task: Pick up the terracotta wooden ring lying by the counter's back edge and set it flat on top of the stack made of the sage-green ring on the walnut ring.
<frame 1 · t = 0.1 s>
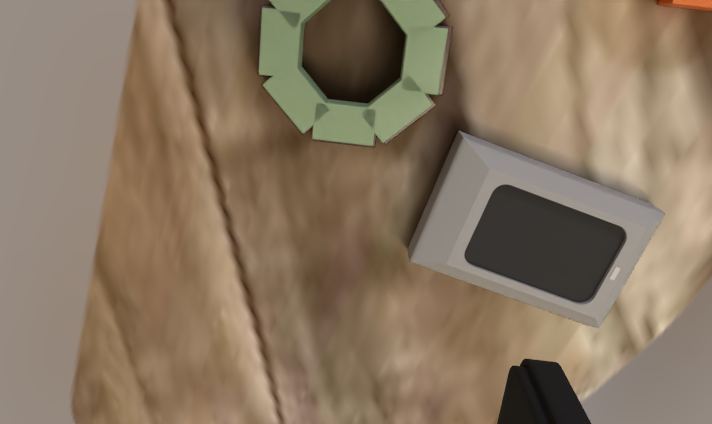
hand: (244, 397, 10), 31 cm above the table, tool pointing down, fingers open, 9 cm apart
walnut ring: (354, 49, 38), on the table, touching green ring
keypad: (525, 225, 42), on the table
green ring: (353, 50, 36), point 2 cm above the table, touching walnut ring
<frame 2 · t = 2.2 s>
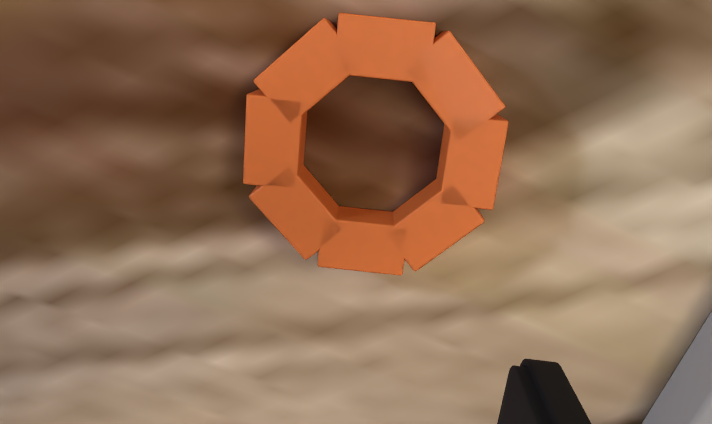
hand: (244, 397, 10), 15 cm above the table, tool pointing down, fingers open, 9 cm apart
terracotta ring: (372, 144, 24), on the table
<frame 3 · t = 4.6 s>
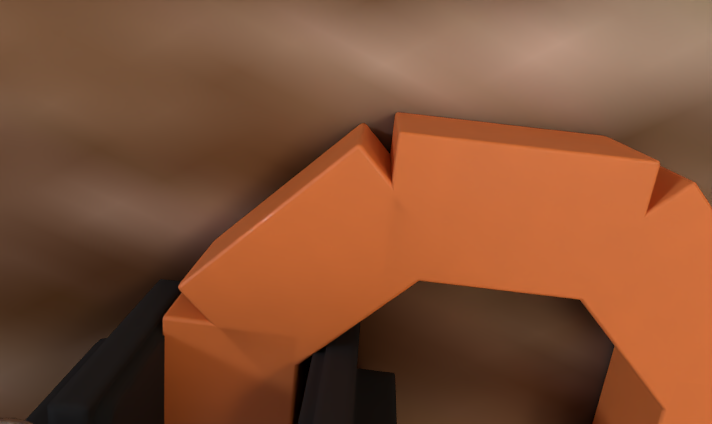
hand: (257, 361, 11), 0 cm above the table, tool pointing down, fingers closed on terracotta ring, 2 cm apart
terracotta ring: (453, 378, 11), on the table, touching gripper
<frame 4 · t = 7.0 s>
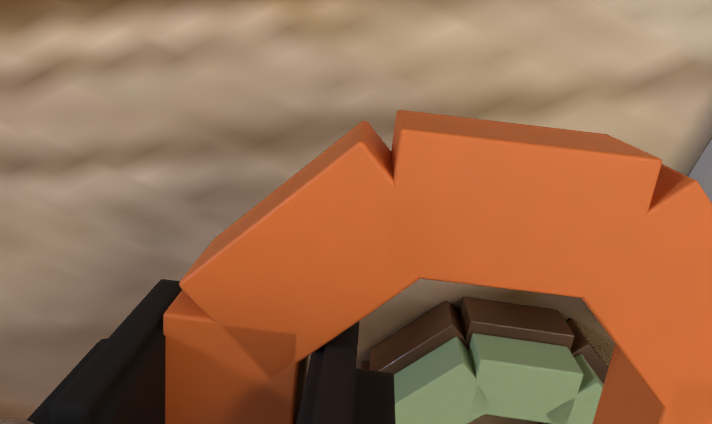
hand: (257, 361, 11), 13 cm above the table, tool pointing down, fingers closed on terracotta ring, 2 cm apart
walnut ring: (482, 417, 27), on the table, touching green ring
terracotta ring: (453, 377, 11), point 13 cm above the table, touching gripper
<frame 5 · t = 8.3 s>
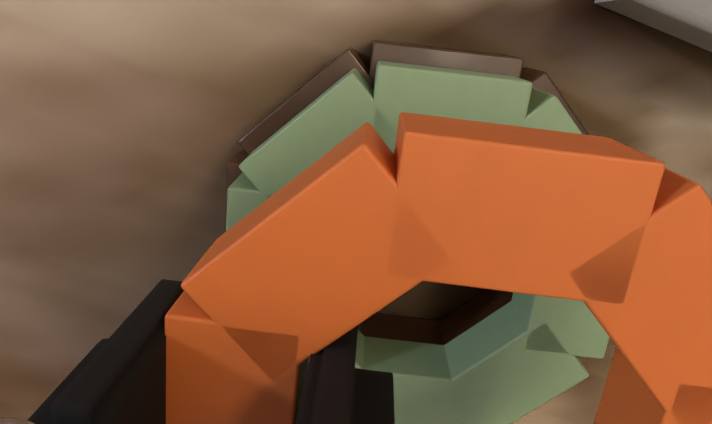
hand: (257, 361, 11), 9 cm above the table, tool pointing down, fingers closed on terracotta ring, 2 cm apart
walnut ring: (413, 227, 20), on the table, touching green ring
terracotta ring: (454, 379, 11), point 9 cm above the table, touching gripper
green ring: (417, 250, 18), point 2 cm above the table, touching walnut ring
when the fingers open (4 cm above the table, at t = 9.6 s): terracotta ring stays where it is, resting on green ring.
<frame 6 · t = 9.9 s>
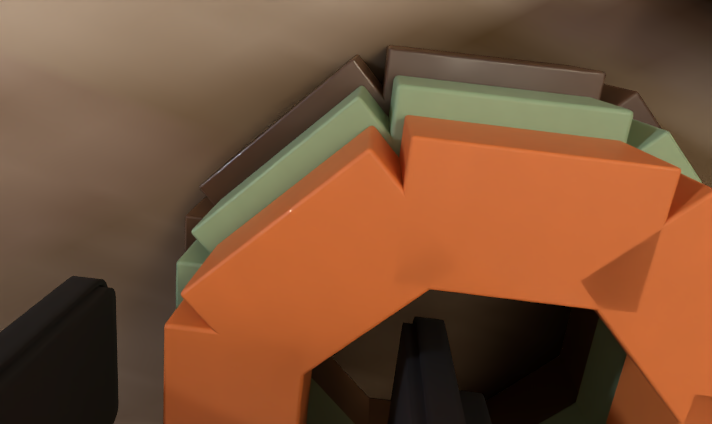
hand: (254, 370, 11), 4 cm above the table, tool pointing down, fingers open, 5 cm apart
walnut ring: (438, 292, 15), on the table, touching green ring
terracotta ring: (460, 387, 11), point 4 cm above the table, touching green ring
green ring: (448, 335, 13), point 2 cm above the table, touching terracotta ring, walnut ring
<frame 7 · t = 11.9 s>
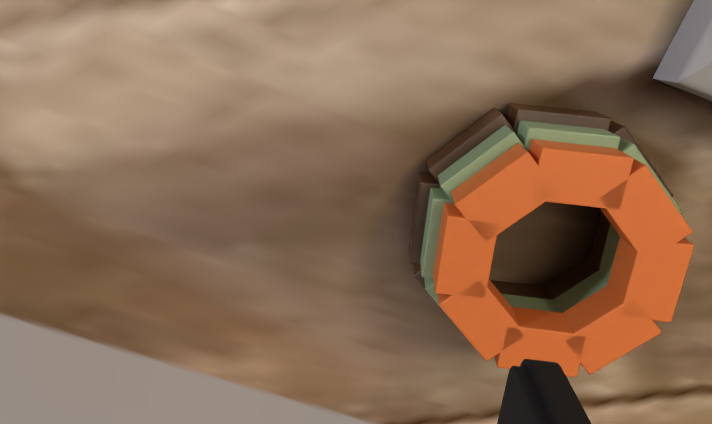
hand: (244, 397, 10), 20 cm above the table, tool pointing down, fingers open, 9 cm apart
walnut ring: (528, 223, 30), on the table, touching green ring
terracotta ring: (549, 252, 26), point 4 cm above the table, touching green ring
green ring: (538, 237, 28), point 2 cm above the table, touching terracotta ring, walnut ring
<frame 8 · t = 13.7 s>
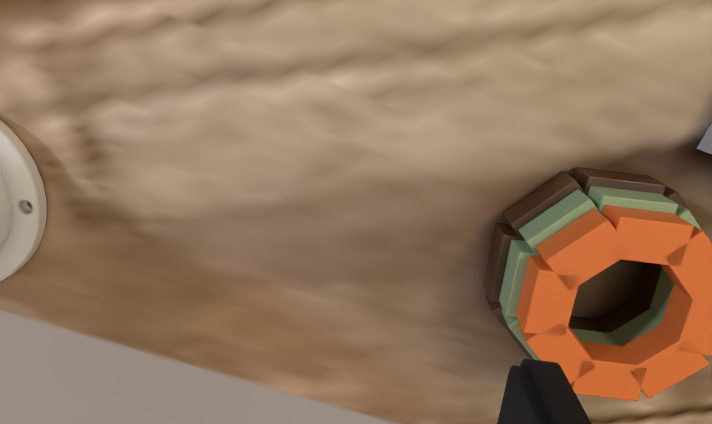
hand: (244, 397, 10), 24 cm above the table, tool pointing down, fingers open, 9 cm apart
walnut ring: (587, 266, 35), on the table, touching green ring
terracotta ring: (614, 296, 31), point 4 cm above the table, touching green ring
green ring: (600, 281, 33), point 2 cm above the table, touching terracotta ring, walnut ring
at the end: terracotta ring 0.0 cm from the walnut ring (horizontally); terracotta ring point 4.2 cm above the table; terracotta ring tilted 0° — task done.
